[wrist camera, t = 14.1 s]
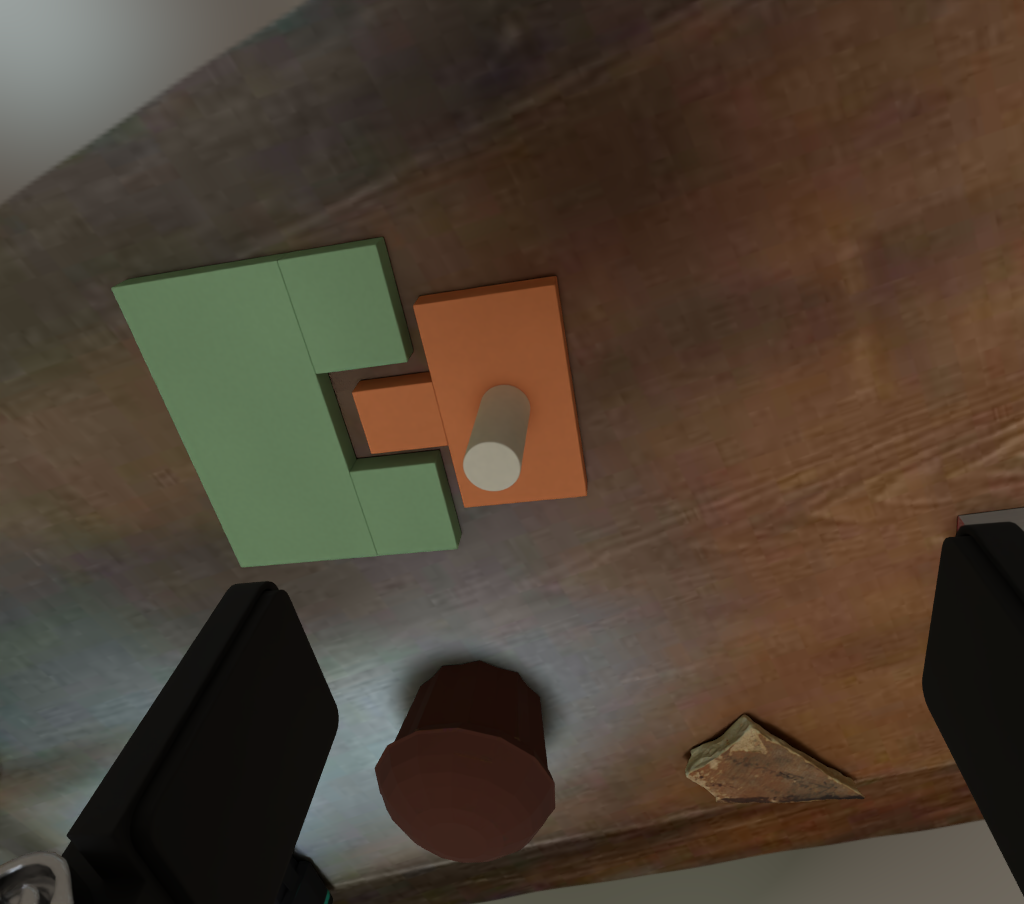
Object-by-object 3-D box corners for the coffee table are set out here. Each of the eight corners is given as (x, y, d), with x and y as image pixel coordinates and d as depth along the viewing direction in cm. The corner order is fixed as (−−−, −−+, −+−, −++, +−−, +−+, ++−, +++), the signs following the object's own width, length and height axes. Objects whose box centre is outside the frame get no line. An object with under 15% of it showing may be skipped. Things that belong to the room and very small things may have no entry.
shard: (859, 779, 51) (867, 802, 49) (777, 824, 54) (783, 847, 53) (750, 708, 48) (755, 731, 46) (672, 760, 52) (674, 783, 50)
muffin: (593, 704, 49) (594, 845, 41) (499, 776, 54) (482, 914, 46) (455, 620, 46) (425, 751, 38) (369, 703, 51) (325, 836, 43)
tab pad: (336, 308, 36) (282, 366, 30) (556, 275, 34) (549, 329, 28) (396, 500, 42) (361, 584, 36) (587, 481, 40) (586, 566, 34)
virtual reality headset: (234, 903, 67) (174, 1021, 58) (149, 774, 61) (69, 883, 52) (336, 894, 65) (291, 1016, 56) (258, 758, 59) (193, 870, 50)
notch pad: (127, 279, 36) (110, 287, 35) (383, 236, 34) (375, 244, 33) (251, 552, 45) (241, 567, 44) (462, 534, 43) (458, 549, 42)
